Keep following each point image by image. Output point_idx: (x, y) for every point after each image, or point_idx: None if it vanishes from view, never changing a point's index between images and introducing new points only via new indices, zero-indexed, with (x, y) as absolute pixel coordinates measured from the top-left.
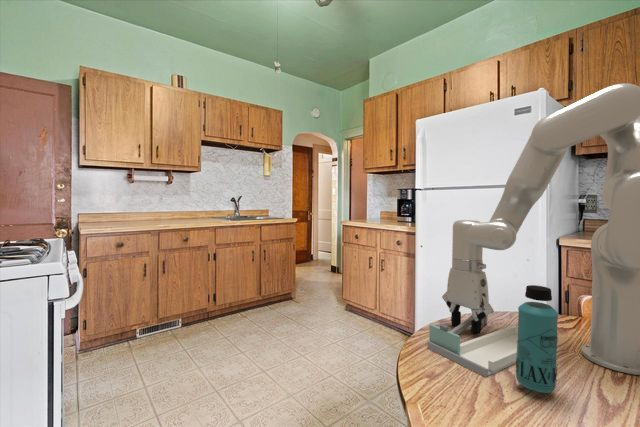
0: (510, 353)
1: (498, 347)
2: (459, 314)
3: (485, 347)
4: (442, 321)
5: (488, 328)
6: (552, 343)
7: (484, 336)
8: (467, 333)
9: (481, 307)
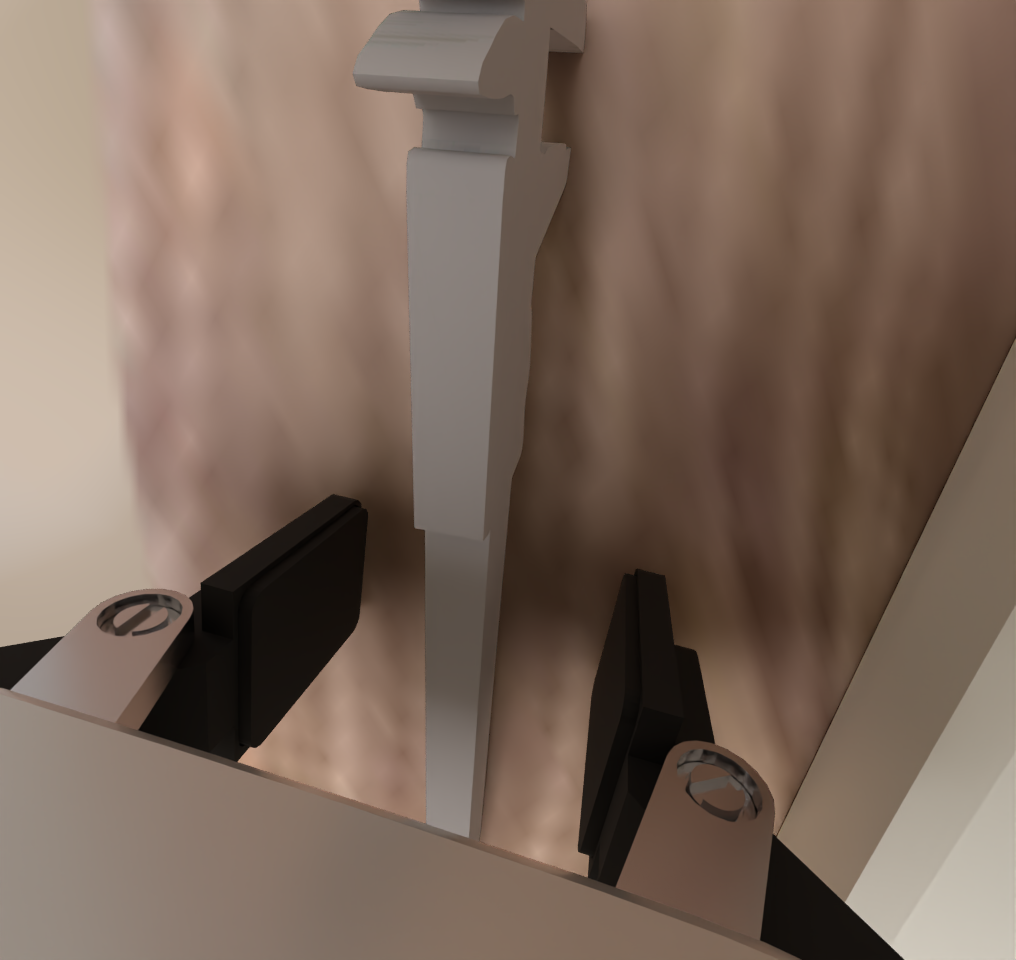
0: None
1: (984, 857)
2: (270, 613)
3: None
4: (149, 459)
5: (664, 198)
6: None
7: None
8: (525, 612)
9: (437, 89)
